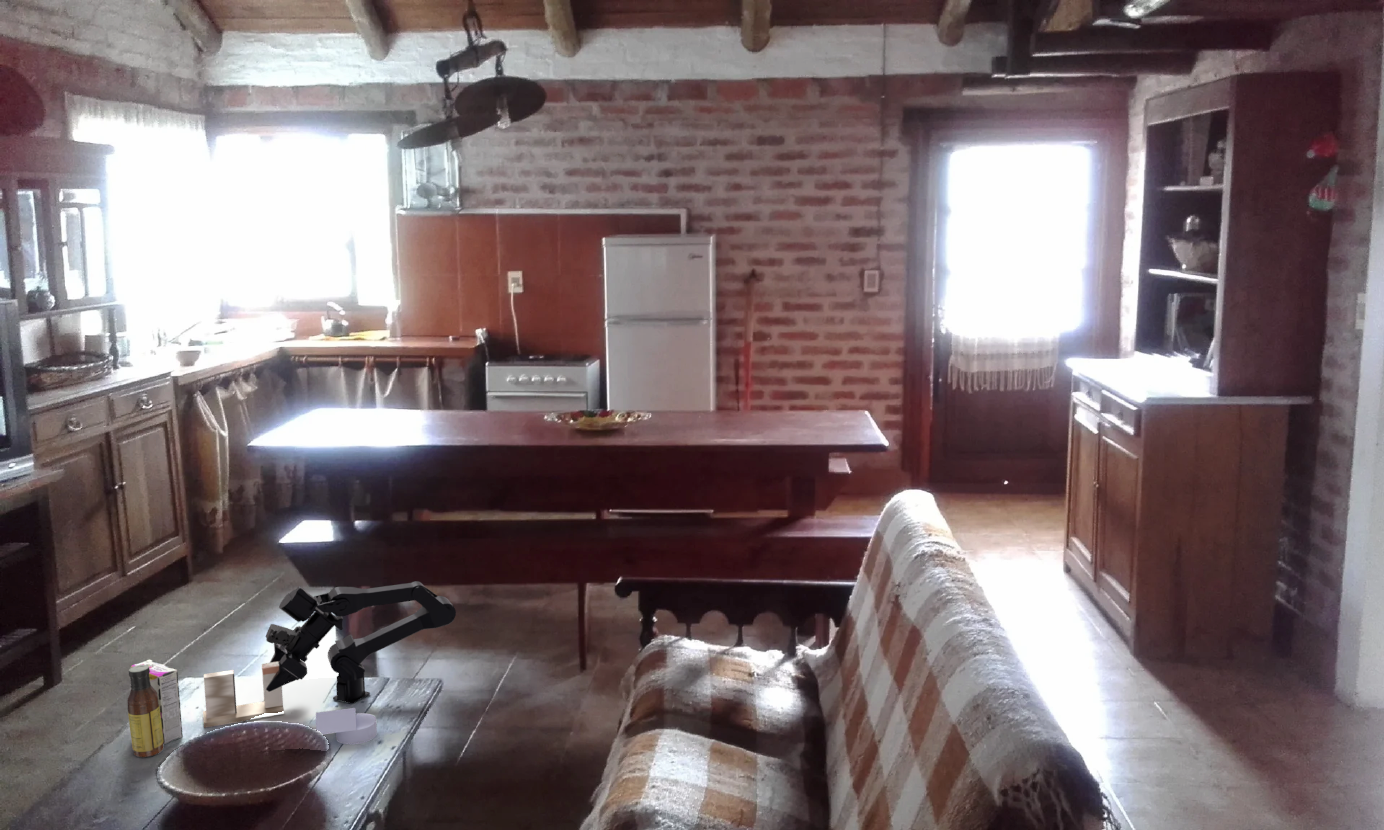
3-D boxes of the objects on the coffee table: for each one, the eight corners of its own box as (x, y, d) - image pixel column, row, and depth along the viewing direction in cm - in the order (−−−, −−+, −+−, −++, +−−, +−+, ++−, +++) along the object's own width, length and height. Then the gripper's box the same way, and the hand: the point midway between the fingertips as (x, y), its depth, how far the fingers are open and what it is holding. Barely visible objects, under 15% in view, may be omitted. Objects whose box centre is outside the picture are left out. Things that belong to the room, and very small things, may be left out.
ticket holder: (281, 702, 268) (279, 659, 266) (284, 714, 261) (281, 669, 259) (203, 715, 260) (200, 671, 258) (204, 727, 254) (200, 681, 252)
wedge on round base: (317, 749, 244) (377, 741, 248) (315, 720, 243) (376, 713, 247) (317, 731, 252) (376, 724, 256) (315, 704, 251) (374, 697, 255)
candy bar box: (134, 733, 251) (128, 665, 248) (155, 725, 255) (149, 658, 253) (163, 745, 245) (157, 676, 242) (183, 737, 249) (178, 668, 247)
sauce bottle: (158, 743, 246) (151, 659, 243) (168, 752, 242) (162, 666, 239) (127, 752, 242) (120, 667, 239) (137, 762, 237) (129, 675, 234)
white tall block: (282, 700, 266) (279, 661, 264) (283, 705, 263) (280, 665, 261) (264, 703, 264) (261, 663, 262) (265, 708, 261) (262, 668, 259)
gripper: (282, 601, 270) (236, 650, 267) (289, 625, 253) (241, 678, 250) (317, 627, 274) (273, 676, 271) (326, 652, 258) (279, 705, 255)
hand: (266, 683), depth 262 cm, fingers open, 9 cm apart
